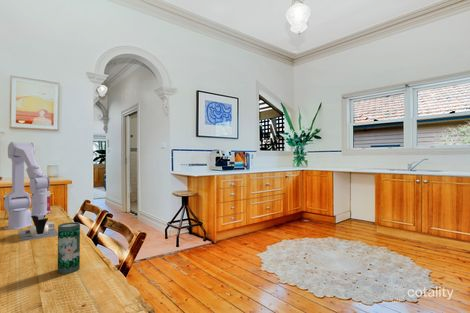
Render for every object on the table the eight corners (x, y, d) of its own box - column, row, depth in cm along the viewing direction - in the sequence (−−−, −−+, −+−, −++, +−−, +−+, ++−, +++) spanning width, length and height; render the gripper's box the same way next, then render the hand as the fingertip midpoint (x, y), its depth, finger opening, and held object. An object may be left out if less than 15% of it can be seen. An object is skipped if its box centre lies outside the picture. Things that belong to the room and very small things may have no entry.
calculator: (38, 216, 162) (38, 191, 162) (31, 216, 162) (31, 191, 162) (51, 212, 173) (51, 189, 173) (44, 212, 173) (44, 189, 173)
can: (56, 275, 85) (57, 227, 85) (59, 268, 90) (59, 223, 90) (79, 271, 87) (79, 225, 87) (80, 264, 93) (80, 221, 93)
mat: (18, 231, 130) (18, 231, 130) (53, 227, 140) (53, 226, 140) (20, 242, 115) (20, 241, 115) (59, 236, 125) (59, 235, 125)
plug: (25, 237, 120) (25, 228, 120) (25, 235, 123) (25, 226, 123) (53, 233, 127) (53, 225, 127) (52, 231, 130) (52, 223, 130)
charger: (40, 229, 134) (40, 223, 134) (52, 227, 137) (52, 221, 137) (41, 231, 130) (41, 225, 130) (54, 229, 134) (54, 223, 134)
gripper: (52, 204, 122) (51, 233, 122) (47, 199, 133) (47, 227, 133) (32, 206, 118) (32, 236, 118) (30, 201, 129) (29, 229, 129)
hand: (39, 232), depth 125 cm, fingers open, 7 cm apart
